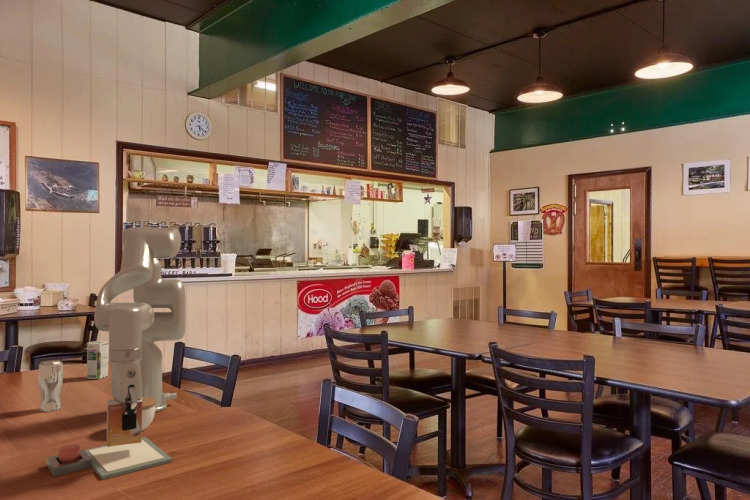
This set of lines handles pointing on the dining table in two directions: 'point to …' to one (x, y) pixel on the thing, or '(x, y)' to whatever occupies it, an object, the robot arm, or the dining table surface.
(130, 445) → the board
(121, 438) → the small box
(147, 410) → the lidded jar
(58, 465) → the button housing
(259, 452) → the dining table surface
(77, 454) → the red rounded knob
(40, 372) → the beer glass
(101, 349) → the syrup box
